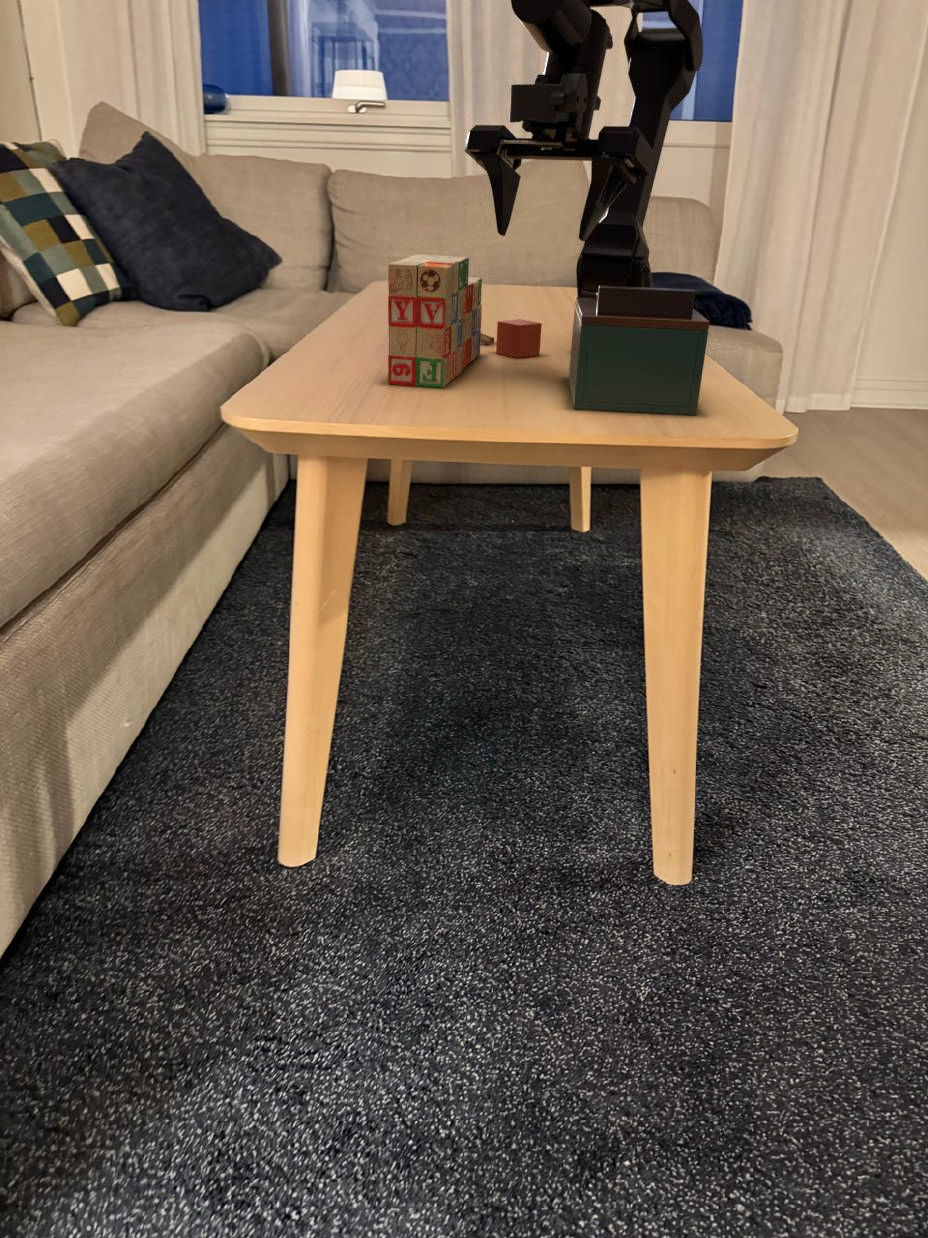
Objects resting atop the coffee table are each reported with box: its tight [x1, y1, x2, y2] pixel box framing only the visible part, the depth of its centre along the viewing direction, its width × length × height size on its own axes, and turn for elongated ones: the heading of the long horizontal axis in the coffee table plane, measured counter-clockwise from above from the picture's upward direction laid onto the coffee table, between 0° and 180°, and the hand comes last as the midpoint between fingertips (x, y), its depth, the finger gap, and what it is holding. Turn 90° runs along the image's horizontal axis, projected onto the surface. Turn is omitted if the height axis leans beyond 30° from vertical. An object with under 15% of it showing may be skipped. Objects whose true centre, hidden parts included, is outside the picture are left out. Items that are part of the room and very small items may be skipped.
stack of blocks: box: [387, 253, 483, 389], centre depth 104 cm, size 21×6×12 cm, turn 169°
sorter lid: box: [574, 286, 711, 331], centre depth 92 cm, size 15×12×3 cm
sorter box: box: [568, 305, 709, 416], centre depth 94 cm, size 15×12×8 cm
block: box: [495, 318, 543, 359], centre depth 116 cm, size 4×4×4 cm
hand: (540, 237), depth 94 cm, fingers open, 9 cm apart
